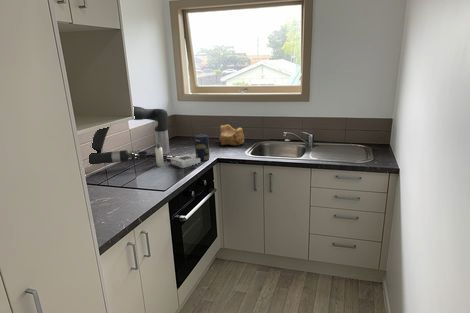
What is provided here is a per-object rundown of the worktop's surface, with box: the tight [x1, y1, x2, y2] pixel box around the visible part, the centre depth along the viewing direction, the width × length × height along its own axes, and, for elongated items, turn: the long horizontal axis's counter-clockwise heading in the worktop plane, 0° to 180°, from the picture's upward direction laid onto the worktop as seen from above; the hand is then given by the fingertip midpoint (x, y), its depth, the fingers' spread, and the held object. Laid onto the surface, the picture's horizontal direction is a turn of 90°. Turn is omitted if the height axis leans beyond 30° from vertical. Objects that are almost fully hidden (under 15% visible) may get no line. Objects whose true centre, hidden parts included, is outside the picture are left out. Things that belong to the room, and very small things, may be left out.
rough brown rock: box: [218, 124, 245, 147], centre depth 269 cm, size 23×17×15 cm
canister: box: [194, 133, 211, 161], centre depth 227 cm, size 10×10×18 cm
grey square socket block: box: [170, 153, 201, 169], centre depth 220 cm, size 14×14×4 cm
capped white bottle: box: [154, 143, 165, 168], centre depth 217 cm, size 4×4×15 cm
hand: (146, 154), depth 215 cm, fingers open, 8 cm apart
